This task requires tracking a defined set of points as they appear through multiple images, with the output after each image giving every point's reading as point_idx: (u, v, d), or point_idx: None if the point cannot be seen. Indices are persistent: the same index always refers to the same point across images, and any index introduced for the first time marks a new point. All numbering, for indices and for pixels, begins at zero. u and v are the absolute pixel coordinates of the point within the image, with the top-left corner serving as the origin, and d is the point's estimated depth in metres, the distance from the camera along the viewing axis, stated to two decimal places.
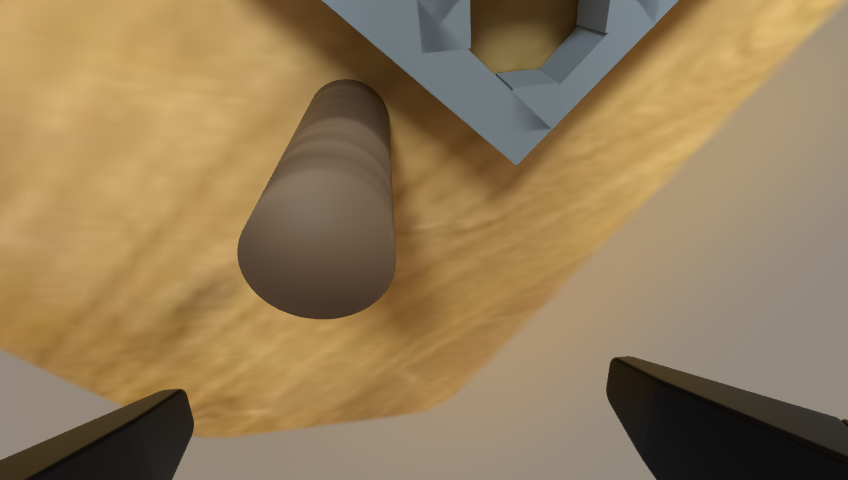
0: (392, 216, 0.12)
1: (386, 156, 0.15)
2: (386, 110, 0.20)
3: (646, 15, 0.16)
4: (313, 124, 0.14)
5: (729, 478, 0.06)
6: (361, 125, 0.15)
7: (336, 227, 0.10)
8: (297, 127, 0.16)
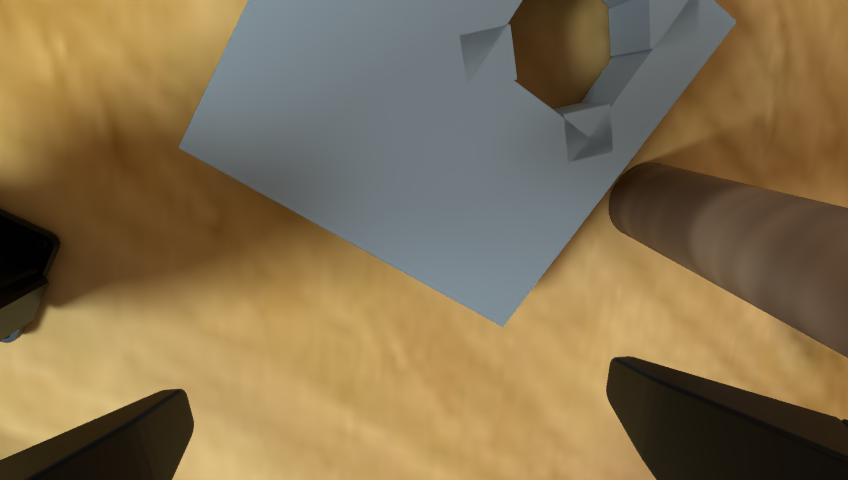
0: None
1: (740, 197, 0.15)
2: (641, 168, 0.21)
3: None
4: (697, 262, 0.16)
5: (729, 478, 0.06)
6: (701, 219, 0.16)
7: None
8: (676, 262, 0.18)
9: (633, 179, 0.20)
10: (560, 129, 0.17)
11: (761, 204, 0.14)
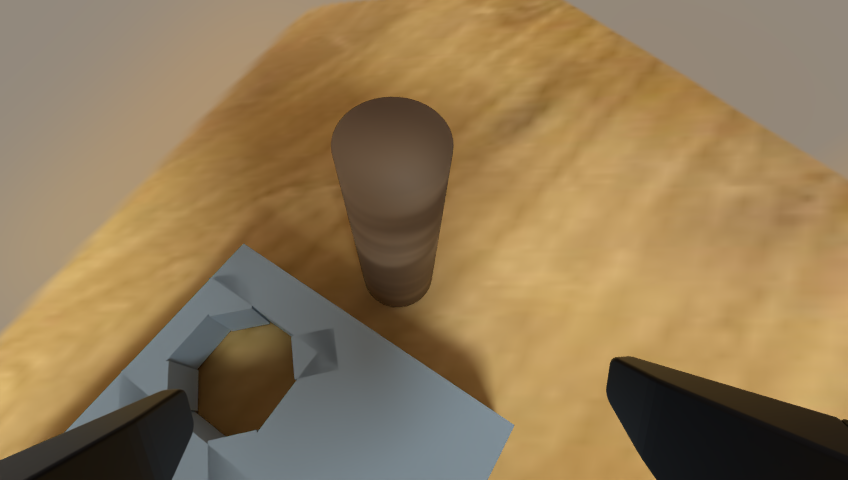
0: None
1: (355, 238, 0.18)
2: (366, 284, 0.23)
3: (130, 378, 0.18)
4: (414, 259, 0.18)
5: (729, 478, 0.06)
6: (377, 262, 0.18)
7: (377, 170, 0.13)
8: (432, 260, 0.20)
9: (373, 292, 0.23)
10: (307, 381, 0.19)
11: (352, 229, 0.17)
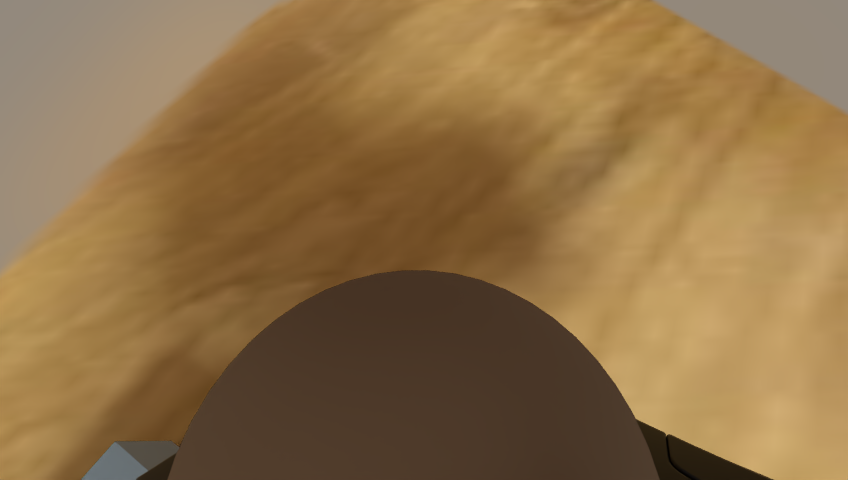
0: None
1: None
2: None
3: None
4: None
5: None
6: None
7: None
8: None
9: None
10: None
11: None
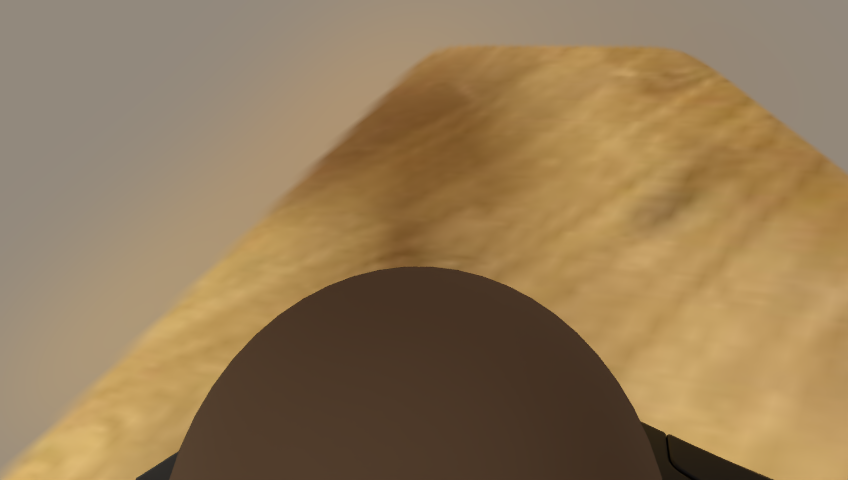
0: None
1: None
2: None
3: None
4: None
5: None
6: None
7: None
8: None
9: None
10: None
11: None
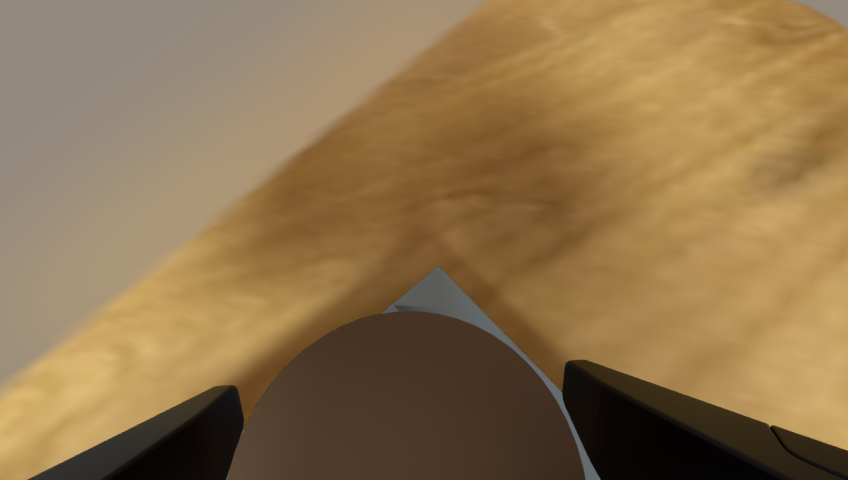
0: None
1: None
2: None
3: None
4: None
5: None
6: None
7: None
8: None
9: None
10: None
11: None
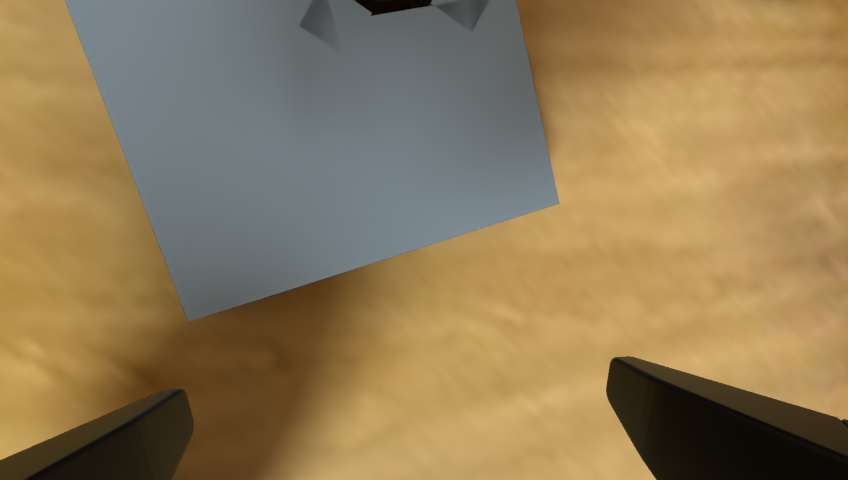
0: None
1: None
2: None
3: None
4: None
5: (729, 478, 0.06)
6: None
7: None
8: None
9: None
10: (440, 15, 0.16)
11: None
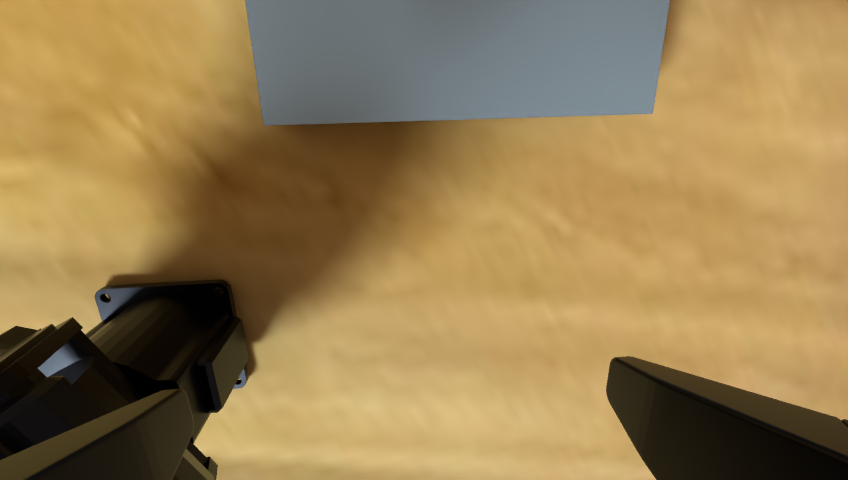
0: None
1: None
2: None
3: None
4: None
5: (729, 478, 0.06)
6: None
7: None
8: None
9: None
10: None
11: None
